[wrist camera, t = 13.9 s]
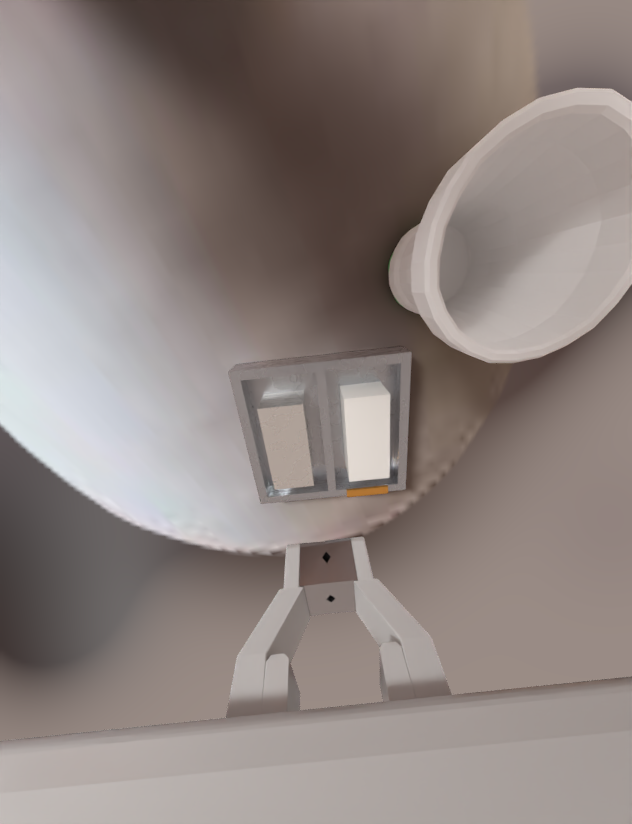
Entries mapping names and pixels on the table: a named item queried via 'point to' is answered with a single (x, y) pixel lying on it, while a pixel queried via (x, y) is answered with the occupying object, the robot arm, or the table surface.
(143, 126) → the table surface
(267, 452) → the tray
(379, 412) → the white rectangular block
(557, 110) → the cup
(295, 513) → the table surface
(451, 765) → the robot arm
